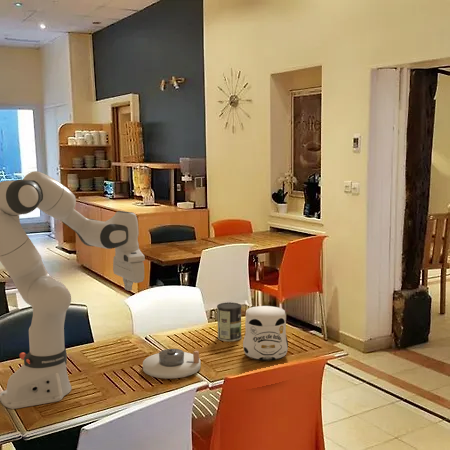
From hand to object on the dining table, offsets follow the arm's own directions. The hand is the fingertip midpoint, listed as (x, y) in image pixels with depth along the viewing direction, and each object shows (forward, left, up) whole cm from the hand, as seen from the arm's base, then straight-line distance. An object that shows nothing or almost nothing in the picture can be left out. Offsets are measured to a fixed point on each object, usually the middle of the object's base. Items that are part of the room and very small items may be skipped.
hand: (128, 289), depth 218 cm
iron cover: (+8, -19, -24) cm, 32 cm away
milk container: (+44, -28, -27) cm, 59 cm away
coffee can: (+45, -2, -27) cm, 53 cm away
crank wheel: (+8, -18, -27) cm, 34 cm away
